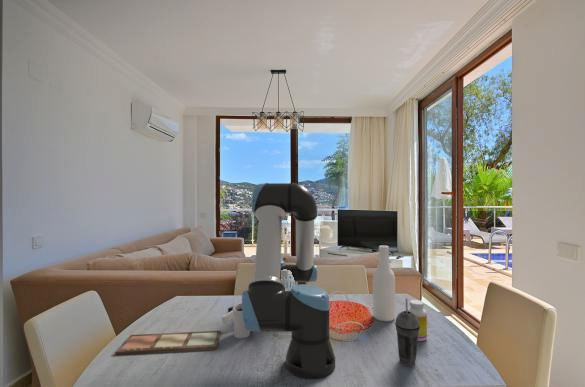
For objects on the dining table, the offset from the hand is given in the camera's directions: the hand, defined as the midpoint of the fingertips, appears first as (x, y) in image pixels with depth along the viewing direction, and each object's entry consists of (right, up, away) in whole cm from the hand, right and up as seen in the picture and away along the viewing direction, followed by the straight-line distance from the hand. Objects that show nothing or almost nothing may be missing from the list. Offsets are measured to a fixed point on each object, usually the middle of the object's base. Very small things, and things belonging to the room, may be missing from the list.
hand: (235, 323), depth 110 cm
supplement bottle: (+65, -6, +1) cm, 66 cm away
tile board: (-22, -6, -3) cm, 23 cm away
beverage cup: (+56, -6, -15) cm, 58 cm away
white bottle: (+59, -6, +19) cm, 62 cm away
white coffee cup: (+2, -6, +4) cm, 8 cm away
